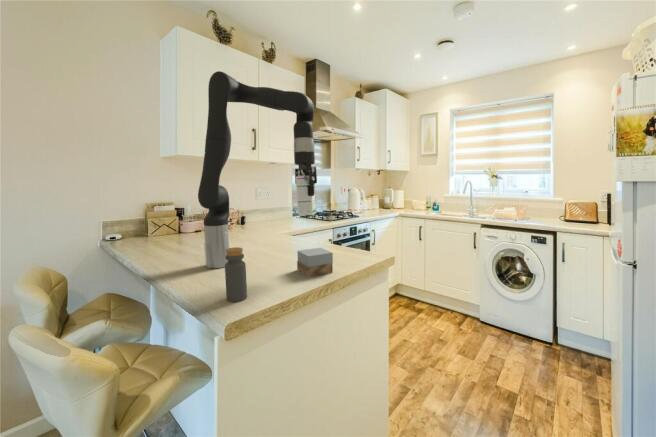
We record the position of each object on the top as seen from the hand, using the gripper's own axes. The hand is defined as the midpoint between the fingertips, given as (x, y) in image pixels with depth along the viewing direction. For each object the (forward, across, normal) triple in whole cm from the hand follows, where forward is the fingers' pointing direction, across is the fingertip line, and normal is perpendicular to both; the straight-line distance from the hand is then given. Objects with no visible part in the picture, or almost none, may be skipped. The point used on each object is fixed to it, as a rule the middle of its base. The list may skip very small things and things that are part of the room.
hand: (306, 195), depth 112 cm
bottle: (+29, +14, -30) cm, 44 cm away
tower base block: (+29, +2, +1) cm, 29 cm away
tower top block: (+25, +2, +2) cm, 26 cm away
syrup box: (+7, 0, 0) cm, 7 cm away
